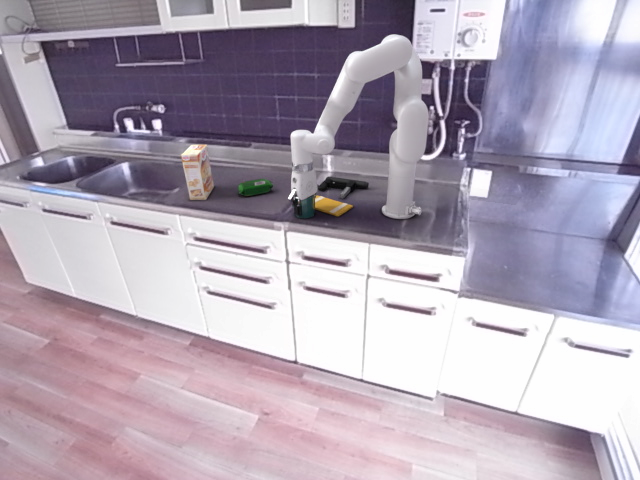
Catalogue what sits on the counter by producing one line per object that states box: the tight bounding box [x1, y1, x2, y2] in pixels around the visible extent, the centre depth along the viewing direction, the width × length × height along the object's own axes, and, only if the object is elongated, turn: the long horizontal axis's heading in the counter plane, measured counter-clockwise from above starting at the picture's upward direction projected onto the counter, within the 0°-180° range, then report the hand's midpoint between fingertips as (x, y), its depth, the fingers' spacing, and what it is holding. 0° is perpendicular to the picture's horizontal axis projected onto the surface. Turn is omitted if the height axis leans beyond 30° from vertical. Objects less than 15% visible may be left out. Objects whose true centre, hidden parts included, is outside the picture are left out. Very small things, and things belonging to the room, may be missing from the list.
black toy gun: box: [318, 176, 370, 200], centre depth 162 cm, size 3×20×16 cm
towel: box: [314, 194, 354, 217], centre depth 149 cm, size 18×10×1 cm, turn 52°
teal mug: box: [291, 195, 316, 219], centre depth 142 cm, size 10×7×8 cm
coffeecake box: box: [180, 144, 215, 201], centre depth 159 cm, size 15×7×20 cm, turn 0°
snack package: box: [237, 178, 274, 197], centre depth 161 cm, size 7×16×5 cm, turn 112°
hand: (304, 210), depth 142 cm, fingers closed on teal mug, 7 cm apart
